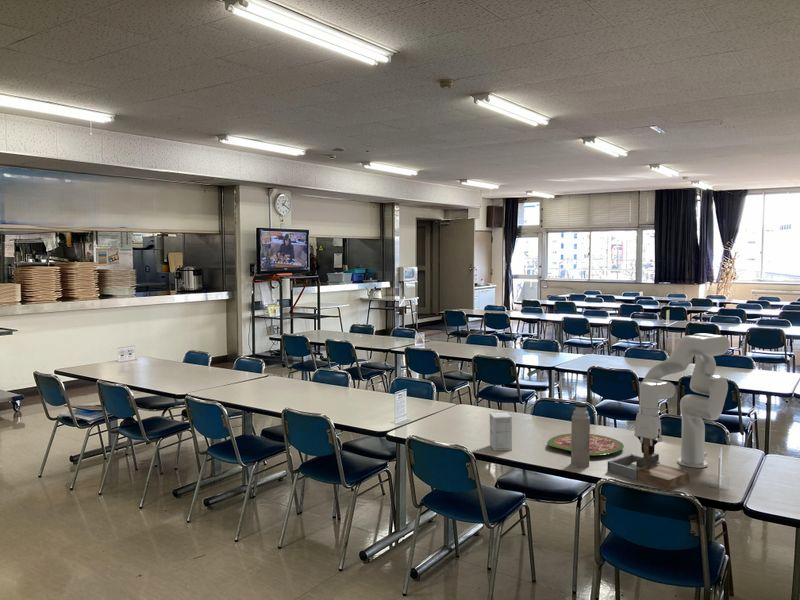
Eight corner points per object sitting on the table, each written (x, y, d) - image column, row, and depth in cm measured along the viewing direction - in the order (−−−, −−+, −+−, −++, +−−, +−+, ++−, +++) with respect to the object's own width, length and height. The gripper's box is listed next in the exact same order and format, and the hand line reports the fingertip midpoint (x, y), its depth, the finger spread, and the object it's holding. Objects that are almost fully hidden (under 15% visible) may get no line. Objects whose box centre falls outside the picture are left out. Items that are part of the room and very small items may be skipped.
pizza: (537, 447, 312) (537, 443, 311) (572, 433, 336) (572, 429, 336) (602, 463, 287) (603, 458, 287) (636, 447, 312) (636, 442, 312)
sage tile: (643, 473, 270) (637, 472, 272) (643, 462, 270) (638, 461, 272) (636, 476, 267) (631, 474, 269) (636, 464, 267) (631, 463, 269)
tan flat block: (658, 472, 274) (658, 463, 274) (689, 481, 263) (689, 472, 263) (637, 480, 265) (637, 470, 265) (668, 489, 254) (668, 480, 253)
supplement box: (507, 445, 316) (508, 412, 315) (512, 450, 306) (512, 416, 305) (489, 445, 315) (489, 412, 314) (493, 451, 306) (493, 417, 305)
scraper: (653, 459, 275) (654, 428, 274) (659, 461, 273) (659, 429, 272) (635, 466, 266) (636, 434, 265) (641, 468, 264) (641, 435, 263)
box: (631, 463, 286) (631, 454, 286) (659, 471, 275) (659, 461, 275) (607, 471, 275) (607, 461, 275) (636, 480, 264) (636, 470, 264)
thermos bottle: (589, 462, 287) (590, 402, 286) (589, 468, 280) (590, 406, 278) (571, 461, 290) (571, 401, 288) (570, 467, 282) (571, 405, 280)
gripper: (626, 408, 272) (626, 450, 274) (661, 416, 260) (660, 459, 261) (636, 406, 277) (635, 447, 278) (671, 413, 264) (670, 456, 265)
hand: (647, 452), depth 269 cm, fingers closed on scraper, 2 cm apart
